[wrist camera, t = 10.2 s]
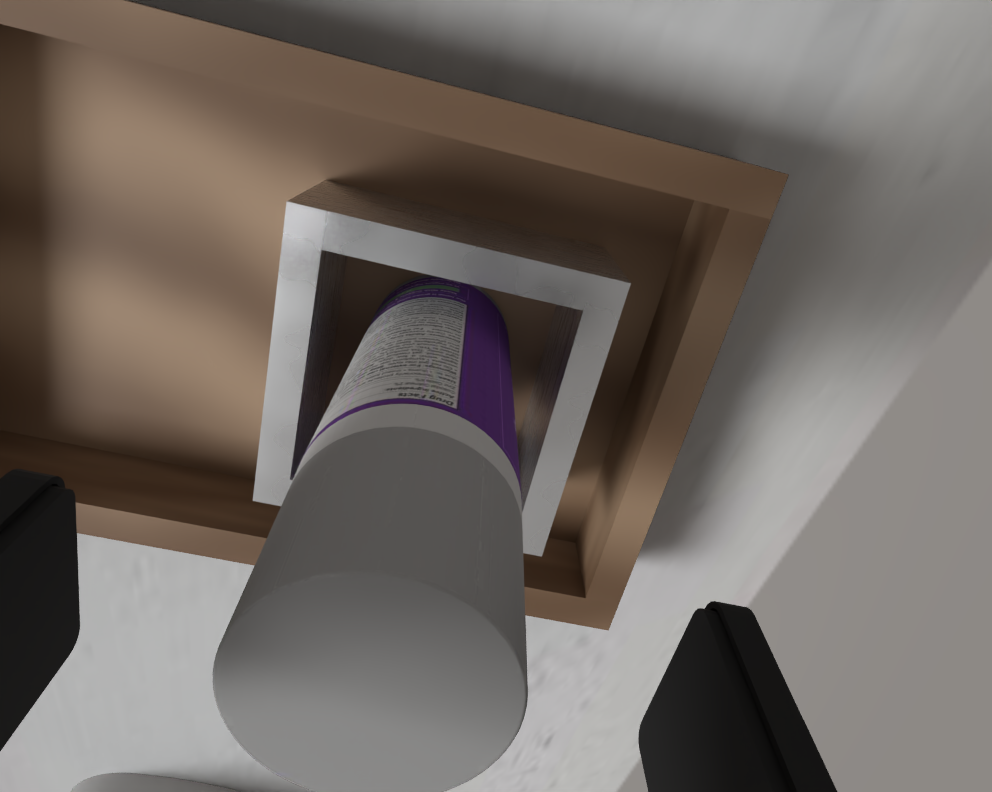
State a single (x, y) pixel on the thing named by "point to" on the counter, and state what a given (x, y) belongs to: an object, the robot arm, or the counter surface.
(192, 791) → the lumpy-topped squat cylinder
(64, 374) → the walled tray
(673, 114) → the counter surface
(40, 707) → the counter surface
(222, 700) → the container
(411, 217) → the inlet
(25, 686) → the robot arm
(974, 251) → the counter surface
